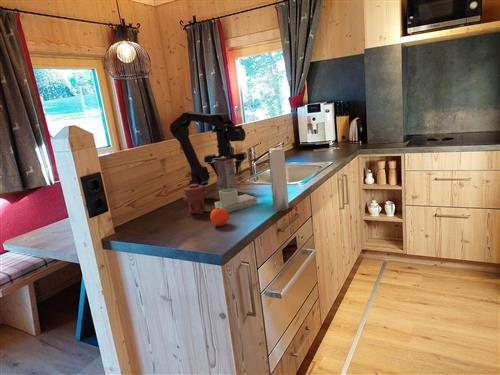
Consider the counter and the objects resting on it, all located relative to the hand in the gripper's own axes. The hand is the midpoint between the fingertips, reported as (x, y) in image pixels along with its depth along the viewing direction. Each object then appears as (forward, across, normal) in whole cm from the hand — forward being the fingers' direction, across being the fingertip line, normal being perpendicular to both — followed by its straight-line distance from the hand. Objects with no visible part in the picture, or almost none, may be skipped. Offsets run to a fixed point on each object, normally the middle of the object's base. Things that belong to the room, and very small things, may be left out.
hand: (227, 175), depth 165 cm
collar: (+9, -3, +11) cm, 15 cm away
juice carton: (+12, +6, -16) cm, 21 cm away
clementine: (+12, -5, +32) cm, 34 cm away
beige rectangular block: (+12, -5, +9) cm, 16 cm away
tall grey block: (+12, -25, +14) cm, 32 cm away
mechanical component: (+12, +11, +16) cm, 23 cm away
